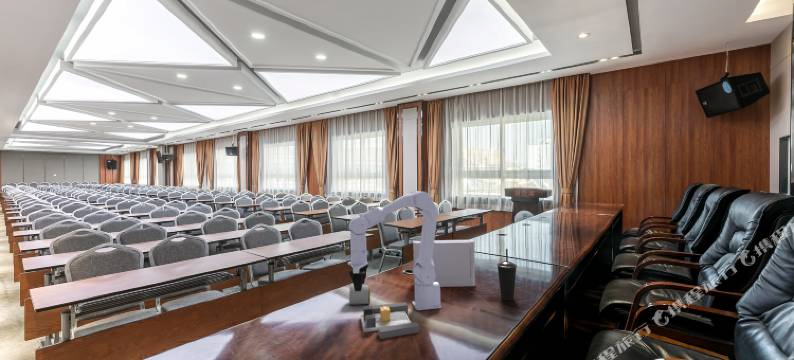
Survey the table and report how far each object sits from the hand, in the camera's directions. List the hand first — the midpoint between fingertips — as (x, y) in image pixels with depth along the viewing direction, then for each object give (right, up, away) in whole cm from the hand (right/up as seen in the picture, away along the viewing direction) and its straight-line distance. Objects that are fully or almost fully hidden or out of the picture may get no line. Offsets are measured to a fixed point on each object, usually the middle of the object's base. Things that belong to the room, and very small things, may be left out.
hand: (359, 287), depth 128 cm
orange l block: (+10, -9, -7) cm, 15 cm away
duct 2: (+14, -10, -15) cm, 23 cm away
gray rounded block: (-1, -10, +12) cm, 16 cm away
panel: (+10, -10, -7) cm, 16 cm away
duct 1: (+11, -10, +1) cm, 15 cm away
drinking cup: (+58, -9, +12) cm, 60 cm away
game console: (+35, -9, +31) cm, 48 cm away
